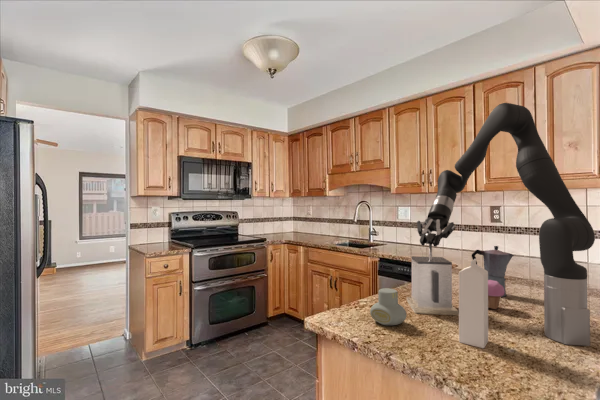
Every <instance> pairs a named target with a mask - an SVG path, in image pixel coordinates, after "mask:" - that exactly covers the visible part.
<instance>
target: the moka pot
mask: <svg viewBox="0 0 600 400" xmlns="http://www.w3.org/2000/svg"><path fill="white" fill-rule="evenodd" d="M476 255H480V256H482V257H483V259H482V260H483V269H485V270H486V271H488V280H493V281H497V282H499V284H500V285H502V286H503V287H504V291H505V293H504V295H503V296H501V298H502V297H503V298H505V297H506V296H507V294H506V293H507V292H506V278H505V276H506V272H507V268H508V264H509V263H510V261H511V260H512V257H514V255H515V254H513V253H510V252H505V251H501V250H499V246H498V245H493V249H490V250H488V249H487V250H481V249H475V251H473V253H471V259H472V260H474V259H476V264H477V265H478V262H477V257H476Z"/></svg>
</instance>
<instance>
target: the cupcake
mask: <svg viewBox="0 0 600 400" xmlns="http://www.w3.org/2000/svg"><path fill="white" fill-rule="evenodd" d="M505 291H506V290H505ZM505 291H504V287H503V286H502V285H500V284H499V282H497V281H493V280H488V309H493V310H497V309H498V308H499V305H500V301H501V298H502V297H501V296H503V295H504V293H505Z"/></svg>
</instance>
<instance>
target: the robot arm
mask: <svg viewBox="0 0 600 400" xmlns="http://www.w3.org/2000/svg"><path fill="white" fill-rule="evenodd" d="M500 132H504V133H508V134H510V135H511V137H512V139H513V141H514V142H515V144H516V147H517V154H516V158H515V167H516V171H517V173H518V176H519V178H520V180H521V182H522V184H523V185H524V187H525V188H526V189H527V190H528V191H529V192H530V193H531V194H532V195H533V196H534V197H536V198H537V199H538V200H539V201H540V202H541V203H543V204H544V205H545V206H546V207H547V209H548V211H550V213H551V216H552V217H553V218H548V219H546V220H545V221H544V222H542V223H541V226H540V227H539V232H538V244H539V256H540V258H539V259H540V263H541V265H542V268H543V281H544V282H543V299H544V300H543V301H544V302H543V308H544V309H543V310H544V311H543V313H544V314H543V315H544V317H543V319H544V324H543V325H544V331H543V332H544V335H545V336H546V337H547V338H548V339H551V340H552V341H555V342H559V343H562V344H564V345H570V346H573V345H574V346H586V347H587V346H588V347H590V346H591V312H590V309H589V308H588V270H587V268H586V267H584V266H583V265H581V264H578V263H577V262H576V261H575V259H574V252H583V251H587V250H589V249H591V248H592V247H593V246H594V243H595V241H596V234H595V231H594V229H593V227H592V224H591V223H590V221H589V220H588V218H587V217H586V215H585V214H584V212H583V211H582V210H581V208H580V207H579V206H578V204H577V203H576V201H575V199H574V198H573V196H572V195H571V192H570V191H569V189H568V187H567V186H566V184H565V182H564V180H563V178H562V176H561V175H560V172H559V169H558V168H557V167H556V165H555V163H554V160H553V158H552V157H551V155H550V154H549V152H548V149H547V148H546V146H545V144H544V141H543V140H542V139H541V136H540V134H539V131H538V129H537V126H536V123H535V120H534V118H533V115H532V113H531V111H530V110H529V109H528V108H527V107H526V106H523V105H520V104H515V103H510V102H502V103H500V104H498V105H496V106H495V107H494V108H493V109H492V111H491V112H490V113H489V115H488V116H487V117H486V120H485V121H484V122H483V125H482V126H481V128H480V129H479V131H478V133H477V134H476V136H475V137H474V139H473V141H472V143H471V144H470V146H469V147H468V148H467V150H466V151H464V153H463V154H462V155H461V156H460V157H459V159H458V160H457V161H456V163H455V164H454V169H455V170H456V172H457V173H458V174H457V173H456V172H454V171H452V170H449V169H445V170H443V171H441V172H440V174H439V176H438V178H437V193H436V195H435V198H434V200H433V201H432V204H431V206H430V209H429V211H428V213H427V218H426V219H425V220H423V221H420V220H417V221H416V227H417V233H418V236H419V237H420V238H419V244H420V245H421V246H425V244H426V243H425V233H432V232H435V233H436V235H435V238H434V241H433V244H432V246H433V247H435V248H436V247H437V246H439V245H440V242H441V240H442V239H443V238H444V239H448V238H449V236H451V234H452V233H453V232H454V230H455V229H456V224H455V223H454V221H453V222H449V221H450V219H451V216H452V213H453V209H454V205H455V202H456V199H457V196H458V195H457V193H461V192H462V191H463V190H464V189H465V187H466V185H467V183H468V180H469V178H470V177H471V175H472V174H473V173H474V171H475V170H476V169H478V168H479V166H480V165H481V164H482V163H483V161H484V160H485V158H486V155H487V153H488V148H489V145H490V143H491V142H492V140H493V139H494V137H496V136H497V135H498V134H499V133H500Z"/></svg>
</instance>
